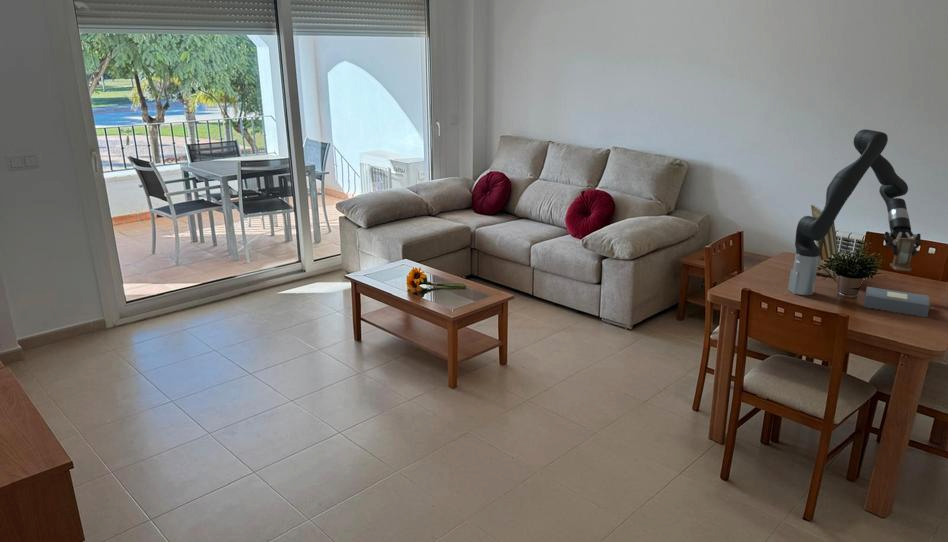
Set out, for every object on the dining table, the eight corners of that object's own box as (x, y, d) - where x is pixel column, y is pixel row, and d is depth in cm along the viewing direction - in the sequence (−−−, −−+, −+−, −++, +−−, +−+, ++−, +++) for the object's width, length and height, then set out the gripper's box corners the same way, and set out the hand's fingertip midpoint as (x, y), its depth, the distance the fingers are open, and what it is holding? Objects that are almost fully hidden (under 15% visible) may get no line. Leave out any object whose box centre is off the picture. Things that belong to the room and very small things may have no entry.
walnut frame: (889, 266, 289) (895, 236, 286) (905, 267, 288) (911, 237, 285) (895, 269, 284) (901, 239, 280) (911, 270, 283) (917, 240, 279)
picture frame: (842, 285, 305) (854, 219, 296) (818, 283, 307) (829, 218, 298) (822, 265, 336) (832, 205, 327) (800, 263, 338) (810, 204, 329)
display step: (863, 307, 277) (865, 295, 276) (864, 297, 289) (867, 286, 287) (927, 317, 266) (929, 305, 265) (926, 307, 278) (928, 295, 276)
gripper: (884, 215, 288) (890, 249, 281) (921, 217, 286) (928, 251, 278) (877, 224, 295) (882, 258, 287) (913, 226, 292) (919, 260, 285)
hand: (905, 255), depth 283 cm, fingers closed on walnut frame, 6 cm apart
